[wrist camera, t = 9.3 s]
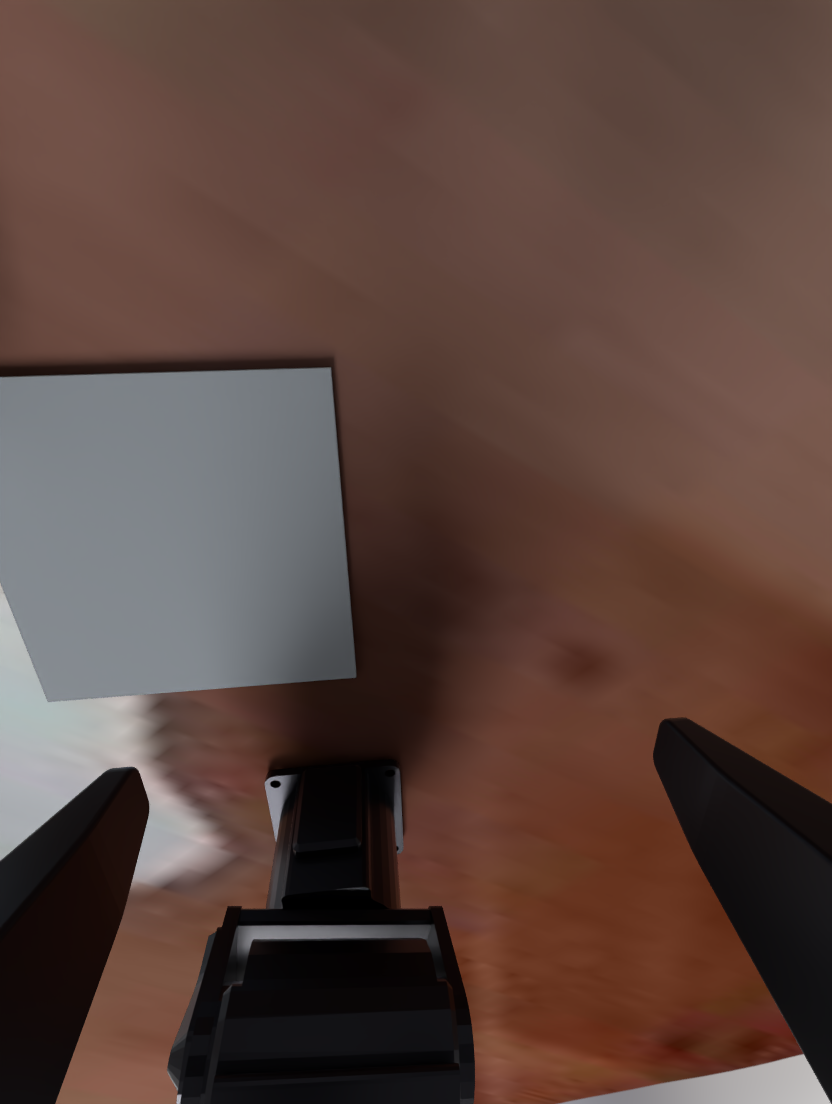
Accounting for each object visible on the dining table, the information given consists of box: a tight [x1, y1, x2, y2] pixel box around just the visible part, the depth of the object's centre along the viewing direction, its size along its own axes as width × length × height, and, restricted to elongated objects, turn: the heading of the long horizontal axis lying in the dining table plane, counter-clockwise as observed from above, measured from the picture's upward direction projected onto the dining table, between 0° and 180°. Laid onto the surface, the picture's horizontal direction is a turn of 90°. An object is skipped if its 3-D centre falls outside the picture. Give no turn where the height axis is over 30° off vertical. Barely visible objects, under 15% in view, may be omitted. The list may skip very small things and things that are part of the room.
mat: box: [0, 367, 356, 702], centre depth 20 cm, size 13×13×1 cm
